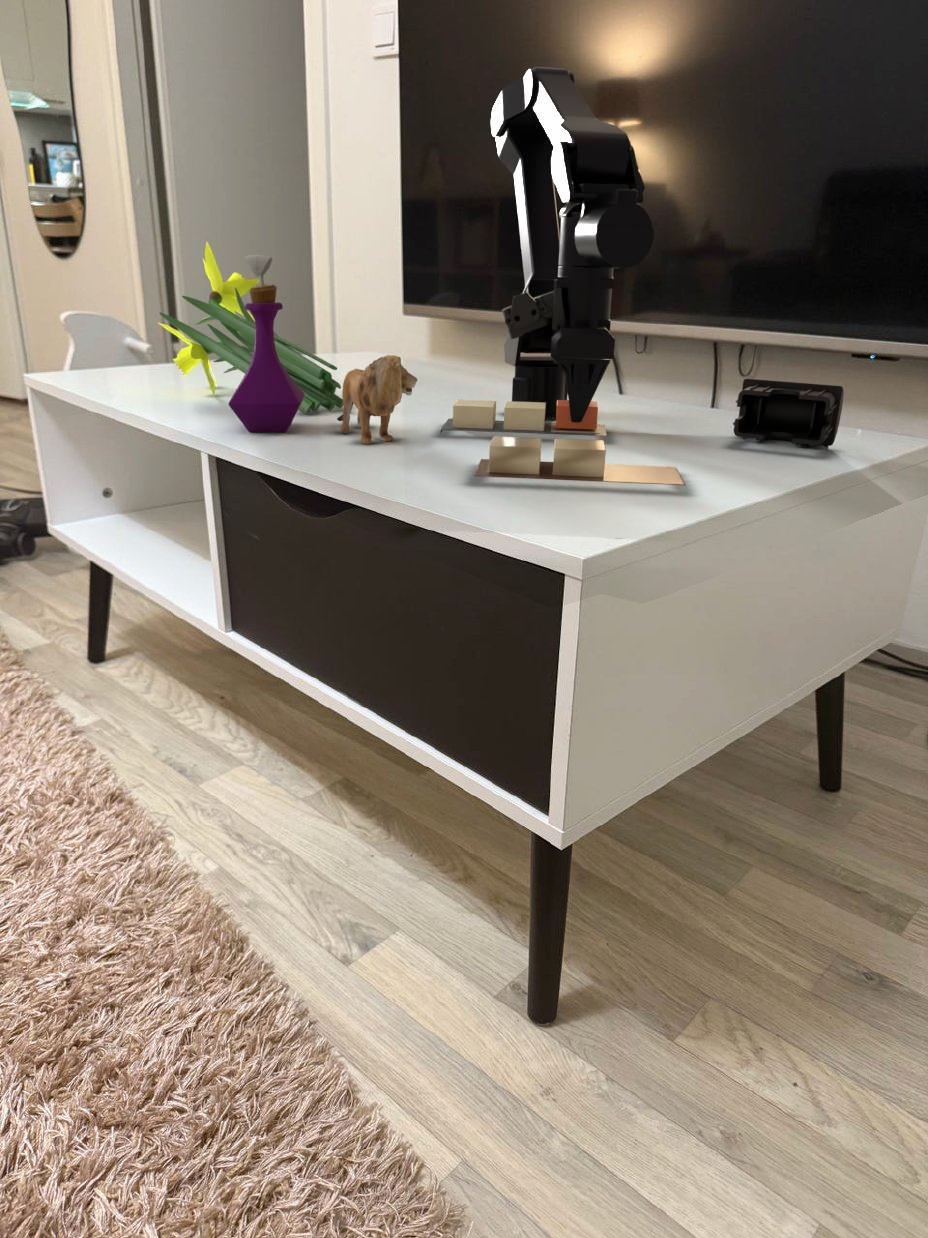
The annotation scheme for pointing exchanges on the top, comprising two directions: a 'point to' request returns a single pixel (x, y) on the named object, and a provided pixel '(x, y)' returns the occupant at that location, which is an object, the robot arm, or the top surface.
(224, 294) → the daffodil flowers
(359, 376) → the lion figurine
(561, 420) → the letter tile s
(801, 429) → the end cap
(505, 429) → the word board
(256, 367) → the perfume bottle
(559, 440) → the word board
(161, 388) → the top surface
